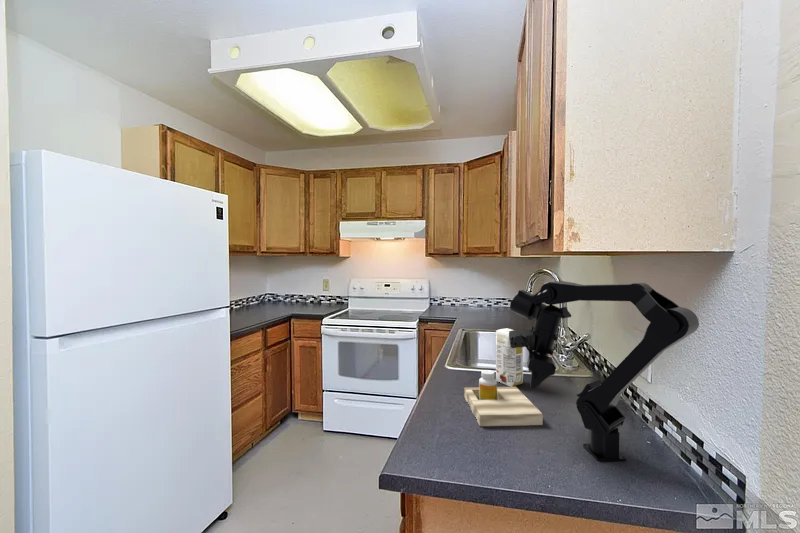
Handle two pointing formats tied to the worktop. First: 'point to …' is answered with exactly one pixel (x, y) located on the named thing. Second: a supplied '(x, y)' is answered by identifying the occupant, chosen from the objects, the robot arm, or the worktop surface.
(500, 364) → the juice carton
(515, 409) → the socket board
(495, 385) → the supplement bottle
